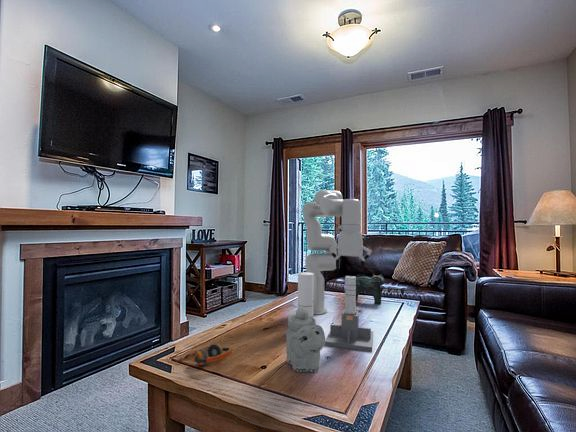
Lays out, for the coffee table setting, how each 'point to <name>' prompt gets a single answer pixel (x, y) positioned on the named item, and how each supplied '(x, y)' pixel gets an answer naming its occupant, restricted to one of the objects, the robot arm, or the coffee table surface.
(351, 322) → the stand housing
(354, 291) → the steel post
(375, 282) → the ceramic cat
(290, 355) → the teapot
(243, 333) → the coffee table surface
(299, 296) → the cylindrical container
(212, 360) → the headphones
